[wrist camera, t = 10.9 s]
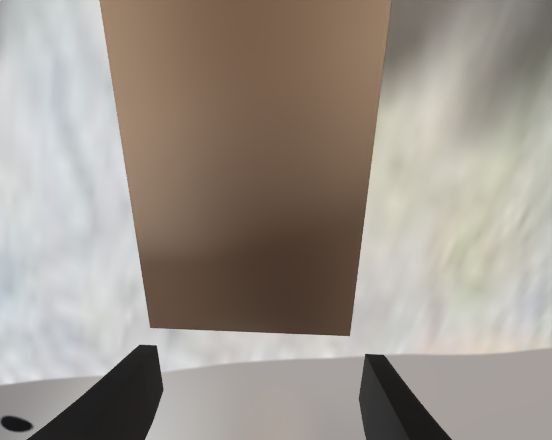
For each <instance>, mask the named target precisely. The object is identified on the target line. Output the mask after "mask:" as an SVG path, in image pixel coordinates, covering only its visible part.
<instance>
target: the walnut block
mask: <svg viewBox="0 0 552 440" xmlns="http://www.w3.org/2000/svg"><path fill="white" fill-rule="evenodd" d="M391 1H392V0H100V6H101V13H102V19H103V26H104V32H105V39H106V45H107V52H108V58H109V64H110V71H111V77H112V84H113V90H114V97H115V103H116V110H117V116H118V122H119V129H120V135H121V142H122V148H123V155H124V161H125V168H126V174H127V181H128V187H129V193H130V200H131V206H132V213H133V219H134V226H135V232H136V239H137V245H138V251H139V258H140V264H141V271H142V277H143V284H144V290H145V297H146V303H147V310H148V316H149V322H150V328H166V329H190V330H215V331H239V332H264V333H288V334H313V335H337V336H350V330H351V322H352V314H353V306H354V298H355V290H356V282H357V274H358V266H359V258H360V250H361V242H362V234H363V226H364V218H365V210H366V202H367V194H368V186H369V178H370V169H371V161H372V153H373V145H374V137H375V129H376V121H377V113H378V105H379V97H380V89H381V81H382V73H383V65H384V57H385V49H386V41H387V33H388V25H389V17H390V9H391Z"/></svg>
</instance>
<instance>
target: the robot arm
mask: <svg viewBox="0 0 552 440" xmlns="http://www.w3.org/2000/svg"><path fill="white" fill-rule="evenodd" d="M162 392H163V383H162V377H161V370H160V364H159V357H158V351H157V346H155V345H139V346H138V347H137V348H135V349H134V350H133V351H132V352H131V353H130V354H129V355H127V356H126V357H125V358H124V359H123V360H122V361H121V362H120V363H119V364H117V365H116V366H115V367H114V368H113V369H112V370H111V371H110V372H109V373H107V374H106V375H105V376H104V377H103V378H102V379H101V380H100V381H99V382H97V383H96V384H95V385H94V386H93V387H92V388H90V389H89V390H88V391H87V392H86V393H85V394H84V395H82V396H81V397H80V398H79V399H78V400H76V401H75V402H74V403H73V404H71V406H69V407H68V408H67V409H65V410H64V411H63V412H62V413H60V414H59V415H58V416H57V417H56V418H54V419H53V420H52V421H51V422H49V423H48V424H47V425H46V426H44V427H43V428H42V429H40V430H39V431H38V432H36V433H35V434H34V435H32V436H31V437H30V438H28V439H27V440H145V438H146V436H147V434H148V431H149V429H150V427H151V425H152V422H153V420H154V416H155V414H156V411H157V408H158V405H159V402H160V399H161V395H162ZM359 402H360V408H361V414H362V421H363V426H364V432H365V436H366V440H452V439H451V438H450V437H449V436H448V435H447V434H446V432H445V431H444V430H443V429H442V428H441V427H440V426H439V424H438V423H437V422H436V421H435V420H434V419H433V417H432V416H431V415H430V414H429V413H428V411H427V410H426V409H425V408H424V406H423V405H422V404H421V403H420V401H419V400H418V399H417V398H416V396H415V395H414V394H413V393H412V391H411V390H410V389H409V387H408V386H407V385H406V384H405V382H404V381H403V380H402V378H401V377H400V376H399V374H398V373H397V372H396V371H395V369H394V368H393V366H392V365H391V364H390V362H389V361H388V360H387V358H386V357H385V356H384V355H374V354H365V360H364V367H363V375H362V381H361V388H360V395H359Z"/></svg>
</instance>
